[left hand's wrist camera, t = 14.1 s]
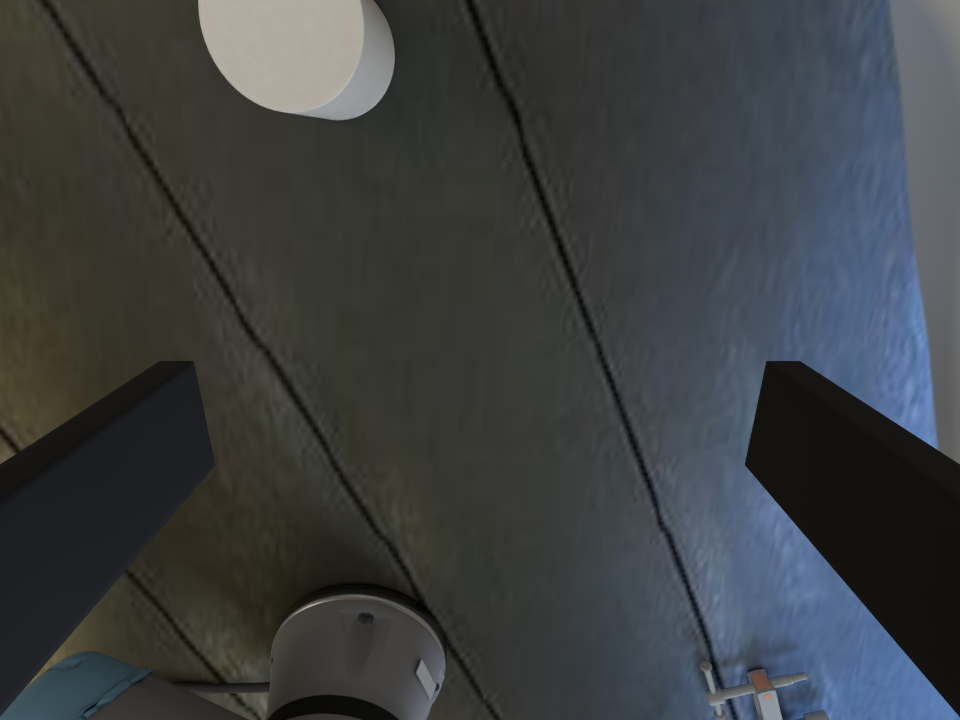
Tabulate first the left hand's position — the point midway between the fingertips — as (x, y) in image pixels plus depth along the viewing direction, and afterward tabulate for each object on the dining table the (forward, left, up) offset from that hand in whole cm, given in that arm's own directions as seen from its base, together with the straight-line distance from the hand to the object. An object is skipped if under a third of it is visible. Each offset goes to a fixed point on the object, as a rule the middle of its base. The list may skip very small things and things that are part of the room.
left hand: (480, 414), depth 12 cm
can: (-1, +14, -24) cm, 27 cm away
